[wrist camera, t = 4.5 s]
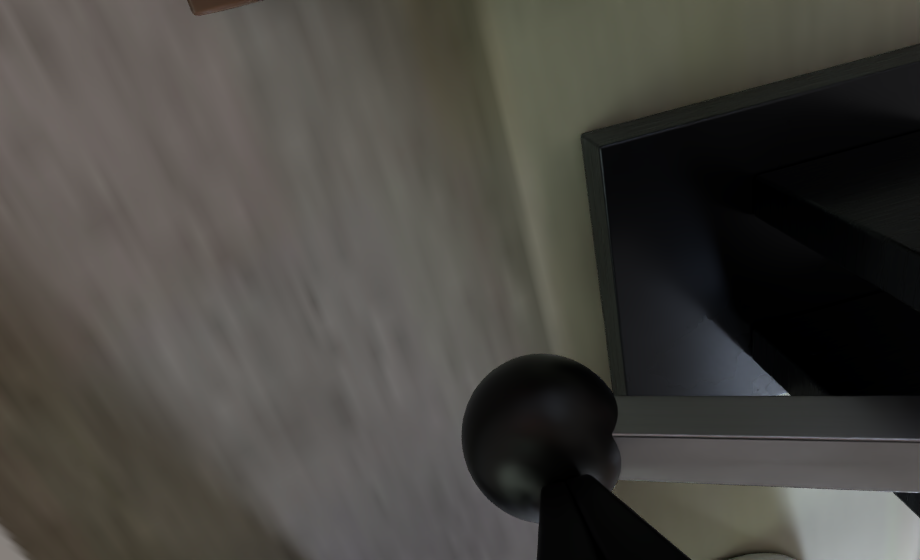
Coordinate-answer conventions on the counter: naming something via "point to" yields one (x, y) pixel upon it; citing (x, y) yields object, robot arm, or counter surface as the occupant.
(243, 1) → the control block
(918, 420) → the lever with ball knob
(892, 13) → the counter surface
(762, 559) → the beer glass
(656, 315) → the black lever housing
